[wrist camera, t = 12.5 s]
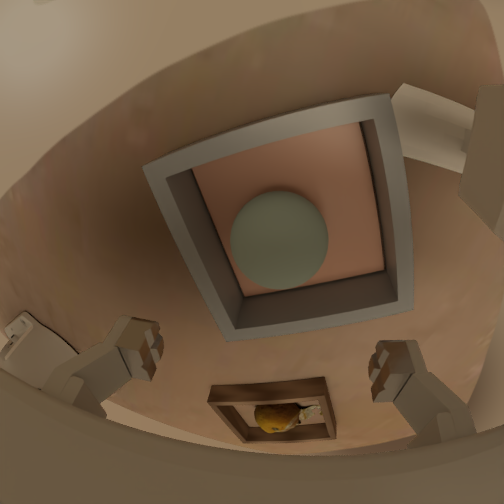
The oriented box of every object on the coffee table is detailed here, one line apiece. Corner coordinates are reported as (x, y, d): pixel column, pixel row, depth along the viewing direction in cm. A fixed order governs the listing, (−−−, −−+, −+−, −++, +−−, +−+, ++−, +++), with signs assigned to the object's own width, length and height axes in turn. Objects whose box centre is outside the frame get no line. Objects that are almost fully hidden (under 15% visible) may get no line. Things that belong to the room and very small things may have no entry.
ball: (304, 269, 22) (274, 324, 18) (242, 220, 22) (197, 264, 18) (355, 217, 18) (336, 271, 14) (282, 160, 18) (238, 192, 14)
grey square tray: (236, 309, 26) (226, 341, 22) (168, 152, 19) (141, 166, 16) (400, 278, 22) (413, 309, 18) (371, 93, 15) (389, 93, 12)
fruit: (290, 427, 37) (288, 448, 34) (242, 408, 35) (237, 431, 32) (330, 407, 33) (330, 431, 30) (280, 385, 31) (276, 411, 28)
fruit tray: (246, 429, 38) (243, 443, 36) (211, 385, 33) (206, 401, 31) (336, 424, 34) (336, 438, 32) (324, 376, 29) (324, 395, 27)
